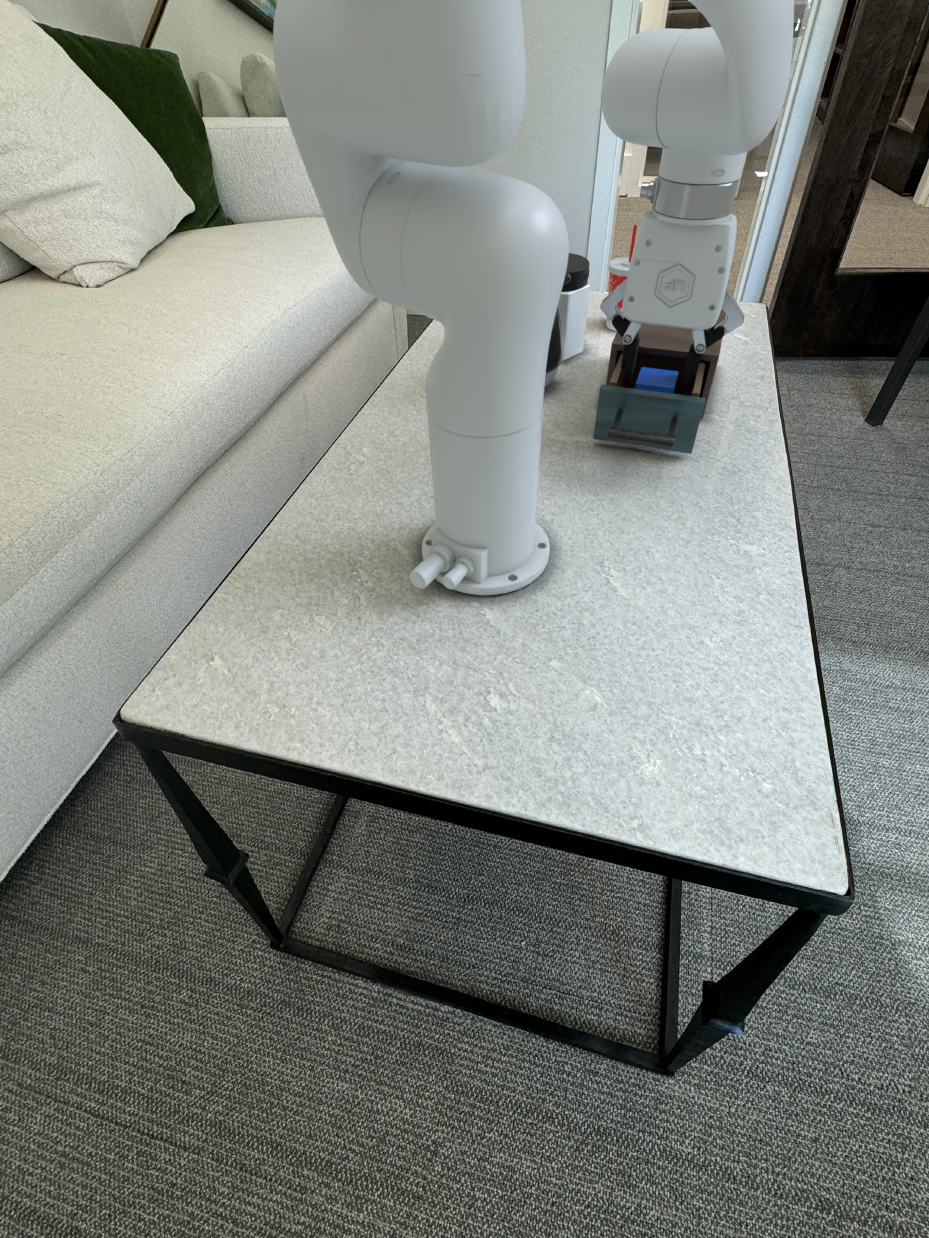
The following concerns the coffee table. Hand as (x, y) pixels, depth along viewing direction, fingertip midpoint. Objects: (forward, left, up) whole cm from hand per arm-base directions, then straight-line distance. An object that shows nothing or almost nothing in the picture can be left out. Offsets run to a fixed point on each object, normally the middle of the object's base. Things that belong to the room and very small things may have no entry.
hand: (657, 377), depth 75 cm
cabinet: (+11, +3, -6) cm, 13 cm away
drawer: (-2, -1, -6) cm, 6 cm away
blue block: (0, 0, -4) cm, 4 cm away
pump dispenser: (+2, +19, -7) cm, 20 cm away
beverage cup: (+27, +16, -7) cm, 32 cm away
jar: (+14, +21, -7) cm, 26 cm away
